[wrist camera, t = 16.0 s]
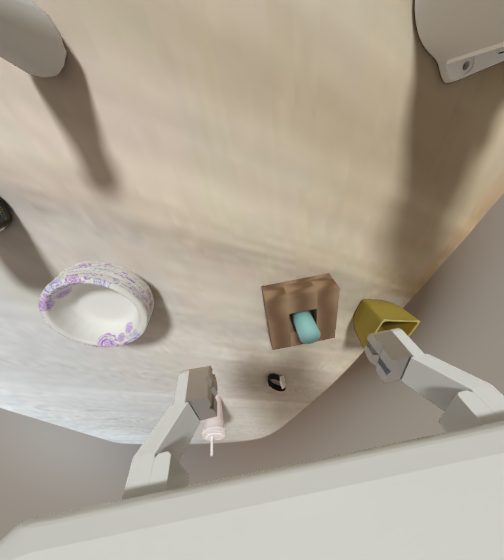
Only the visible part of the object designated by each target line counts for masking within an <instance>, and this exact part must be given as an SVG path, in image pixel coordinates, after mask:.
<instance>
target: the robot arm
mask: <svg viewBox="0 0 504 560" xmlns="http://www.w3.org/2000/svg"><path fill="white" fill-rule="evenodd" d="M415 19H416V26H417V30H418V34H419V37H420V39H421V42H422V44H423V45H424V47H425V48H426V50H427V51H428V52H429V53H430V54H431V55H432V56H433V57H434V58H435V59H436V61H437V62H438V66H439V70H440V74H441V77H442V80H443V81H444V82H445V83H451V82H454V81H457V80H459V79H462V78H464V77H466V76H469V75H471V74H474V73H476V72H478V71H481V70H483V69H486V68H488V67H490V66H493V65H495V64H497V63H500V62H502V61H504V0H415ZM464 64H465V65H464ZM463 65H464V68H463ZM367 339H368V341H369V342H368V343H367V344H366V346H365V351H366V355H367V357H368V359H369V360H370V362H371V363H372V364H374V365H376V371H377V373H378V374H379V376H380V377H381V379H382V381H383V382H384V383H385V382H391V381H397V380H401V381H402V382H404V383H405V384H406V385H408V386H409V387H411V388H412V389H414V390H415V391H416V392H418V393H419V394H421V395H422V396H423V397H425V398H427V399H428V400H429V401H430V402H432V403H433V404H435V405H436V406H437V407H439V408H440V409H442V410H443V411H444V413H443V414H442V415H441V417H440V418H439V423H440V424H441V426H442V427H443V429H444V430H445V431H446V433H441V434H437V435H432V436H427V437H422V438H417V439H413V440H407V441H403V442H398V443H393V444H388V445H383V446H379V447H374V448H369V449H364V450H359V451H355V452H350V453H345V454H340V455H335V456H331V457H326V458H321V459H316V460H312V461H306V462H302V463H297V464H292V465H287V466H283V467H278V468H273V469H269V470H264V471H258V472H253V473H249V474H244V475H239V476H234V477H229V478H225V479H220V480H215V481H211V482H205V483H201V484H196V485H191V486H188V482H189V473H188V471H187V470H186V469H185V468H184V467H183V466H182V465H181V464H180V461H181V459H182V457H183V455H184V453H185V451H186V449H187V447H188V445H189V443H190V441H191V439H192V437H193V435H194V433H195V431H196V429H197V427H198V425H199V423H200V420H204V419H209V418H213V417H217V401H216V398H215V397H216V395H217V381H216V377H215V375H214V374H212V368H211V366H206V367H201V368H195V369H189V370H184V371H180V373H179V375H178V381H177V387H176V393H175V399H174V405H171V406H170V407H169V408H168V410H167V411H166V412H165V414H164V415H163V417H162V418H161V419H160V421H159V422H158V424H157V425H156V426H155V428H154V429H153V431H152V432H151V433H150V435H149V436H148V438H147V439H146V440H145V442H144V443H143V444H142V446H141V447H140V449H139V450H138V451H137V453H136V454H135V456H134V457H133V460H132V464H131V468H130V472H129V475H128V479H127V482H126V486H125V490H124V494H123V497H122V500H119V501H114V502H109V503H105V504H100V505H95V506H90V507H86V508H81V509H76V510H72V511H67V512H62V513H57V514H52V515H47V516H42V517H36V518H32V519H29V520H26V521H23V522H21V523H20V524H19V525H17V526H16V527H15V528H13V529H12V530H11V531H10V532H9V533H8V534H7V535H6V536H5V537H4V538H3V539H2V540H1V541H0V560H504V396H503V395H502V394H501V393H500V392H499V391H498V390H497V389H495V388H494V387H493V386H492V385H491V384H489V383H487V382H485V381H483V380H481V379H479V378H477V377H475V376H473V375H471V374H469V373H466V372H464V371H462V370H460V369H458V368H456V367H454V366H452V365H450V364H448V363H446V362H444V361H442V360H439V359H438V358H436V357H434V356H431V355H429V354H424V353H423V352H422V351H421V350H420V348H419V347H418V346H417V345H416V344H415V343H414V342H413V341H412V340H411V339H410V338H409V337H408V336H407V335H406V333H405V332H404V331H403V330H402V329H400V328H396V329H391V330H385V331H380V332H376V333H371V334H369V335H368V337H367Z"/></svg>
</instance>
